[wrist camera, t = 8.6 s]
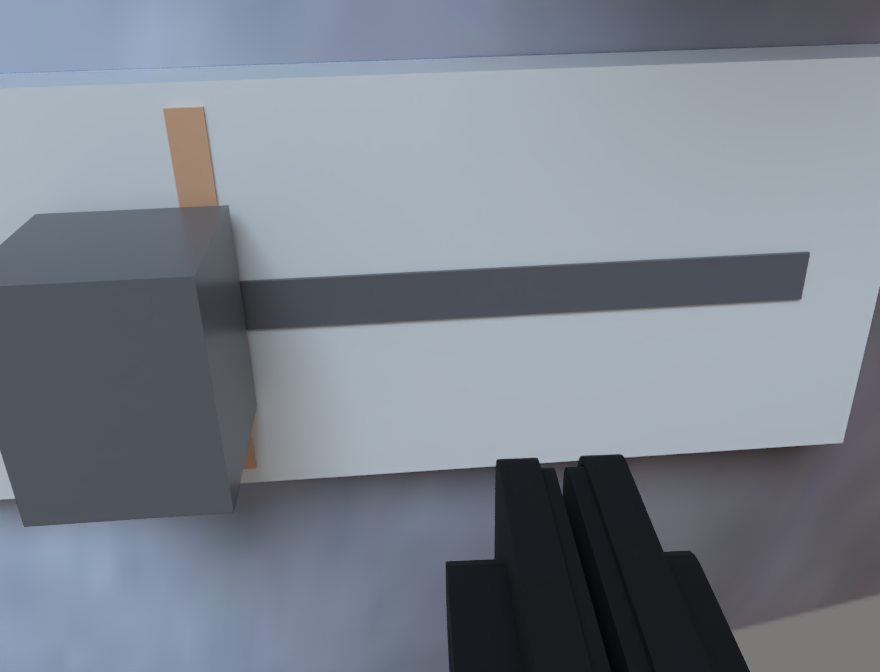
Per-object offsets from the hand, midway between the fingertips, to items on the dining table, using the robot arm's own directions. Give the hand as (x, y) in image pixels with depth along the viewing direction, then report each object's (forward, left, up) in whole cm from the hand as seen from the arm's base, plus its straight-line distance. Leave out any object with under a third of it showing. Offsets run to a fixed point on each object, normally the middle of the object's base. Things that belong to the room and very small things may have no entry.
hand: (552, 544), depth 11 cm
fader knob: (+7, 0, -9) cm, 11 cm away
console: (+2, 0, -11) cm, 11 cm away
